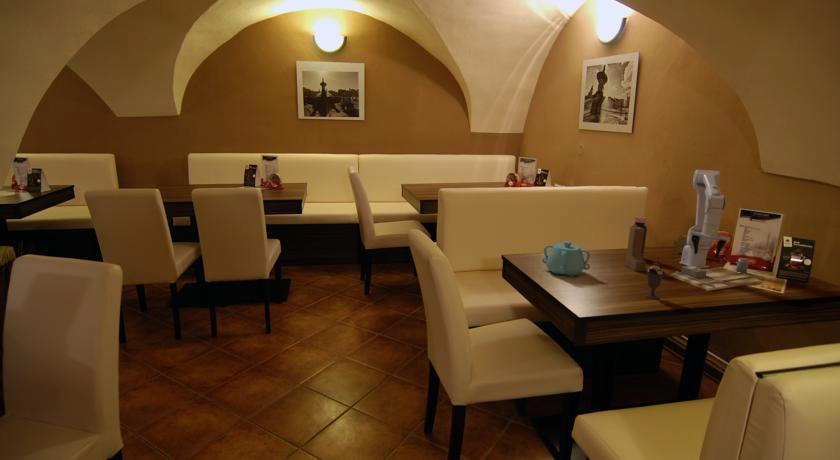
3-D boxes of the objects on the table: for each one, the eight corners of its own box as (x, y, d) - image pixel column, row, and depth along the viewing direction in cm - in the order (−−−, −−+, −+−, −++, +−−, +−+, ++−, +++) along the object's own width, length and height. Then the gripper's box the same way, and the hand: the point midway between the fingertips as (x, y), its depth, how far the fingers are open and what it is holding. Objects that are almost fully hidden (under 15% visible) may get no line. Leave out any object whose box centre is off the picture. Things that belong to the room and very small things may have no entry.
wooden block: (644, 271, 211) (650, 231, 207) (635, 271, 211) (640, 231, 206) (634, 264, 220) (639, 226, 215) (624, 265, 220) (629, 226, 215)
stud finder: (680, 273, 206) (682, 265, 205) (691, 272, 208) (692, 264, 207) (695, 278, 200) (696, 270, 199) (705, 277, 202) (707, 269, 201)
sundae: (655, 293, 186) (661, 256, 182) (665, 300, 179) (671, 262, 175) (639, 293, 185) (644, 256, 182) (647, 300, 179) (653, 261, 175)
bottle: (628, 259, 228) (633, 218, 223) (626, 255, 235) (632, 215, 230) (643, 260, 226) (649, 219, 221) (641, 256, 233) (647, 216, 228)
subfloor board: (670, 275, 206) (671, 272, 206) (720, 269, 217) (721, 265, 216) (708, 290, 190) (708, 286, 189) (760, 282, 200) (761, 278, 200)
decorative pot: (572, 265, 217) (574, 236, 214) (592, 277, 202) (595, 246, 199) (538, 267, 214) (541, 237, 210) (556, 279, 199) (559, 247, 195)
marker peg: (733, 271, 214) (735, 258, 213) (739, 270, 216) (742, 257, 214) (742, 274, 210) (744, 261, 209) (748, 273, 212) (751, 260, 210)
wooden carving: (708, 257, 235) (711, 237, 232) (707, 259, 231) (710, 239, 229) (670, 250, 244) (673, 231, 241) (669, 253, 240) (672, 233, 238)
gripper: (689, 222, 202) (684, 253, 205) (730, 228, 193) (724, 261, 196) (693, 219, 207) (688, 250, 210) (733, 225, 198) (727, 257, 201)
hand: (706, 255), depth 204 cm, fingers open, 7 cm apart
